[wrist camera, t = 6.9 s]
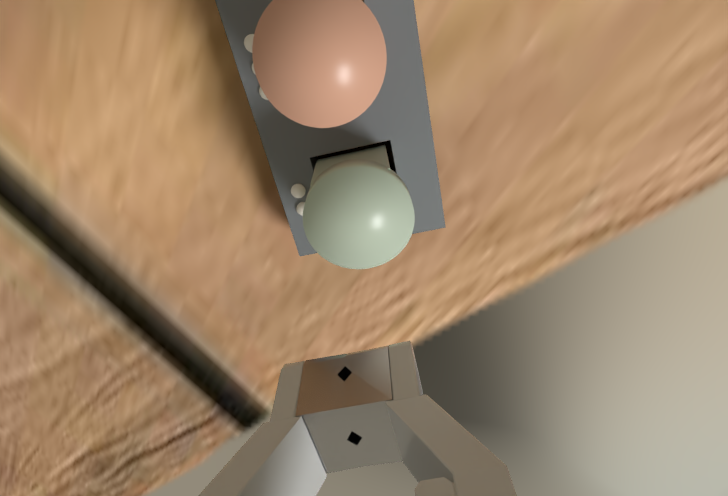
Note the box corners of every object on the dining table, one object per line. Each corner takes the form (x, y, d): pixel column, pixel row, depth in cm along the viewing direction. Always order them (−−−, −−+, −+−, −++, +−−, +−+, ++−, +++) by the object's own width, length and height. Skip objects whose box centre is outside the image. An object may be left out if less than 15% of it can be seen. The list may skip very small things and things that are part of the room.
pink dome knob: (389, 93, 22) (397, 112, 18) (291, 116, 23) (276, 139, 18) (368, -24, 20) (371, -35, 15) (259, 4, 20) (232, 1, 16)
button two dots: (411, 216, 25) (422, 257, 21) (325, 234, 26) (318, 277, 21) (395, 129, 23) (404, 155, 19) (301, 150, 23) (288, 180, 19)
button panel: (437, 207, 28) (445, 228, 25) (305, 234, 29) (299, 257, 26) (369, -248, 18) (372, -295, 15) (172, -189, 19) (140, -223, 16)
